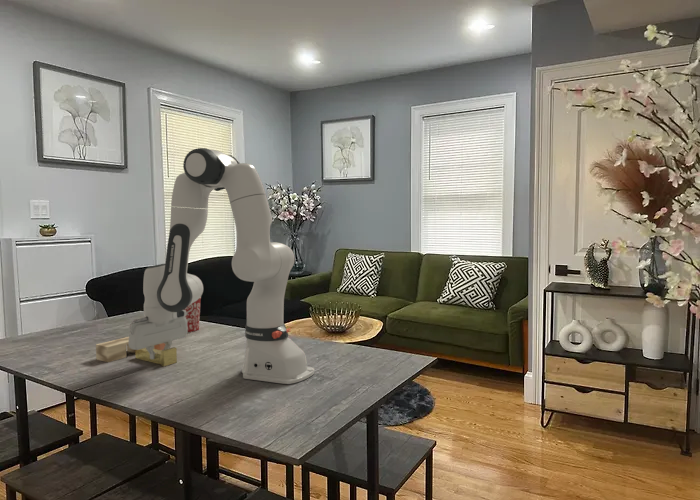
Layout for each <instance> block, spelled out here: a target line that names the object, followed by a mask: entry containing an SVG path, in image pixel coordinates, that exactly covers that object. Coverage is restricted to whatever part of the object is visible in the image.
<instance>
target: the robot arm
mask: <svg viewBox="0 0 700 500" xmlns="http://www.w3.org/2000/svg"><path fill="white" fill-rule="evenodd" d="M182 164H183V165H182V166H183V171H184V172H182V173H180V174H179V175H177V176H176V178H175V179H174V184H173V187H172V193H171V194H172V195H171V201H170V202H171V203H170V206H171V207H170V220H169V221H170V224H169V234H168V238H167V239H168V241H167V246H166V257H165V263H160V264H155V265H154V264H153V265H150V266H148V267H147V268H145V270H144V272H143V273H144V274H143V283H142V284H143V285H142V286H143V287H142V289H143V290H142V291H143V295H144V303H143V317H141V318H135V319H133V321H131V323H130V324H129V333H128V337H129V342H128V345H129V347H130V348H131V349H134V350H139V349H143V348H146V349H147V351H148V352H149V353H150V359H156V358H157V353H155V352H154V351H153V349H154V345H158V344H162V343H164V344H165V347H164V349H163V350H166V349H170V348H172V345H173V341H176V340H180V339H183V338H186V337H187V335H188V333H189V332H188V327H187V319H186V318H185V316H186V310H184V309H185V308H186V307H187V306H189V305H190V304H192V303H194V302H195V301H197V300H198V299H199V298H200V297H201V298H202V296H203V293H204V284H203V281H202V279H200V277H198V276H197V275H195V274H191V273H188V268H189V267H188V266H189V257H190V250H191V248H192V245H193V243H194V242H195V241H196V240H197V239H198V237H199V236H200V235H201V234H202V233H203V232H204V230H205V228H206V226H207V225H206V224H207V222H208V213H209V198H210V197H209V196H210V194H211V193H212V191H213V190H214V191H216V192H218V191H222V190H225V191H226V194H227V195H228V200H229V204H230V209H231V213H232V215H233V221H234V224H235V230H236V249H235V252H234V253H233V256H232V259H231V268H232V272H233V274H234V275H235V277H236V278H238V279H240V280H241V281H244V282H251V283H253V286H252V289H251V291H250V293H249V295H248V296H247V299H246V324H245V326H244V327H245V329H244V333H245V338H246V339H245V340H246V343H245V350H244V351H245V353H244V359H243V364H242V368H241V373H242V379H243V380H244V379H245V380H254V381H260V382H261V381H262V382H266V383H267V382H269V383H276V384H283V385H291V384H296V383H299V382H302V381H304V380H306V379H308V378H310V377H311V376H313V375H314V374H315V368H314V367H311V366H308V363H307V356H306V353H305V351H304V350H303V349H302V348H301V347H300V346H298V344H296V342H294V341H293V340H292V339H291V338H290V336H289V333H290V332H292V330H291V329H292V328H291V327H289V328H287V327H286V325H285V323H284V314H285V313H284V310H285V307H284V306H285V305H284V304H285V294H286V289H287V284H288V281H289V276H290V272H291V270H292V269H293V266H294V265H295V259H296V258H295V254H294V251H293V250H292V248H291V247H289V246H288V245H286V244H284V243H281V242H278V241H277V242H276V241H275V242H274V241H271V236H270V235H271V231H270V230H271V225H272V223H273V216H272V212H271V208H270V205H269V201H268V197H267V193H266V191H265V187H264V184H263V182H262V179H261V177H260V175H259V173H258V171H257V168H255V166H254V165H252V164H250V163H247V162H246V163H245V162H242V163H241V162H240V161H239V160H238V158H236V157H234V156H233V155H231V154H230V155H229V154H226V153H224V152H223V151H219V150H215V149H210V148H206V147H199V148H195V149H191V150H190V151H188V152H187V154H186V155H185V157H184V160H183V163H182ZM163 350H162V351H163Z"/></svg>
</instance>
